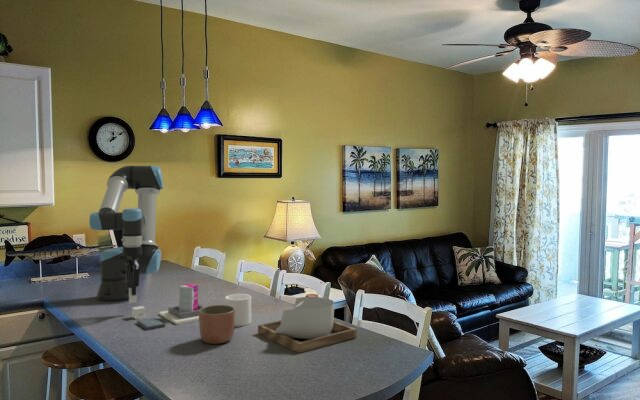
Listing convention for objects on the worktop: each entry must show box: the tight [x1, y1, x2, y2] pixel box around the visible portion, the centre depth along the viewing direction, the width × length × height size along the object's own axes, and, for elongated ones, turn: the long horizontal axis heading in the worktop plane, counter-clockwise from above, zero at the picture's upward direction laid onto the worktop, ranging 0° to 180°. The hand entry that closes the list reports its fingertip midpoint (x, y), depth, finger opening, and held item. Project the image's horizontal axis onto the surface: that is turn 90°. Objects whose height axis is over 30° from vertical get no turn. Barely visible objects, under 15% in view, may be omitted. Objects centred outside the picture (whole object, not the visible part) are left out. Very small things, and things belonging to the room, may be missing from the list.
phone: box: [136, 317, 166, 331], centre depth 191 cm, size 11×7×1 cm, turn 39°
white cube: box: [131, 305, 147, 320], centre depth 201 cm, size 5×4×4 cm
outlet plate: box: [158, 303, 205, 325], centre depth 204 cm, size 18×18×3 cm
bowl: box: [275, 296, 335, 340], centre depth 179 cm, size 20×19×12 cm
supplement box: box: [178, 283, 199, 313], centre depth 204 cm, size 6×6×12 cm
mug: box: [224, 293, 252, 328], centre depth 195 cm, size 13×10×10 cm
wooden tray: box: [257, 320, 358, 354], centre depth 179 cm, size 25×25×3 cm
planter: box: [198, 304, 235, 345], centre depth 173 cm, size 12×12×11 cm
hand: (132, 302), depth 206 cm, fingers closed
